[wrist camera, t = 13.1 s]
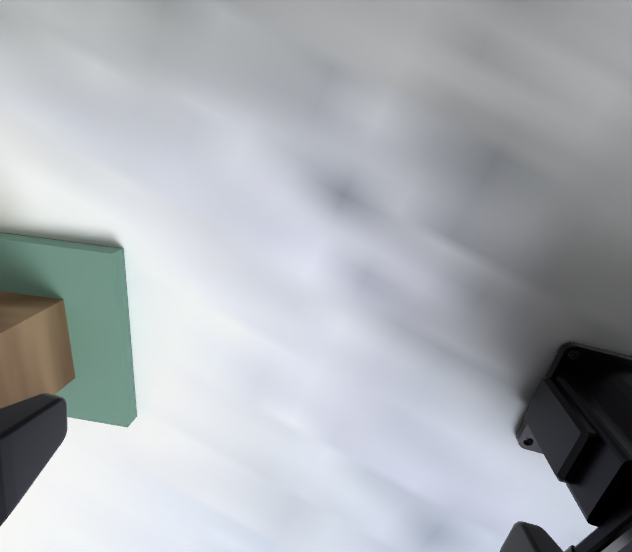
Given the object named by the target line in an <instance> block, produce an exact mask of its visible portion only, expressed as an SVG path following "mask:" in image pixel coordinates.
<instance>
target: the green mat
mask: <svg viewBox="0 0 632 552" xmlns="http://www.w3.org/2000/svg"><path fill="white" fill-rule="evenodd" d="M0 291H4V292H11V293H19V294H26V295H33V296H41V297H48V298H56V299H63V300H64V305H65V311H66V318H67V325H68V331H69V338H70V344H71V351H72V358H73V364H74V371H75V379H73V380H72V381H71V382H70V383H68V384H67V385H66V386H65V387H64V388H62V389H61V390H60V391H59V392H58V393H56V394H55V395H57V396H60V397H63V398H65V400H66V402H67V417H71V418H77V419H82V420H88V421H94V422H100V423H106V424H111V425H117V426H123V427H128V426H129V425H130V424H131V423H132V422H133V420H134V419H135V418H136V417H137V412H136V400H135V387H134V375H133V362H132V350H131V337H130V325H129V312H128V300H127V287H126V275H125V262H124V250H123V249H122V248H114V247H107V246H99V245H91V244H84V243H76V242H68V241H60V240H53V239H45V238H37V237H30V236H22V235H14V234H7V233H0Z"/></svg>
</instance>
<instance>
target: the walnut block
mask: <svg viewBox="0 0 632 552" xmlns="http://www.w3.org/2000/svg"><path fill="white" fill-rule="evenodd" d="M73 379H75V371H74V364H73V358H72V351H71V344H70V338H69V331H68V325H67V318H66V311H65V305H64V300H63V299H56V298H48V297H41V296H33V295H26V294H19V293H11V292H4V291H0V408H3V407H5V406H8V405H11V404H14V403H16V402H19V401H22V400H25V399H27V398H30V397H33V396H36V395H38V394H42V393H49V394H53V395H55V394H56V393H58V392H59V391H60V390H61V389H62V388H64V387H65V386H66V385H67V384H68V383H70V382H71V381H72V380H73Z"/></svg>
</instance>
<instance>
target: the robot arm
mask: <svg viewBox="0 0 632 552" xmlns="http://www.w3.org/2000/svg"><path fill="white" fill-rule="evenodd" d="M571 351H575V353H574V354H573V355H571V356H568V354H569V353H570V352H571ZM66 433H67V402H66V400H65V398H63V397H60V396H57V395H53V394H49V393H42V394H38V395H36V396H33V397H30V398H27V399H25V400H22V401H19V402H16V403H14V404H11V405H8V406H5V407H3V408H0V526H1V525H2V524H3V522H4V521H5V520H6V519H7V518H8V516H9V515H10V514H11V512H12V511H13V510H14V508H15V507H16V506H17V504H18V503H19V502H20V500H21V499H22V497H23V496H24V495H25V493H26V492H27V491H28V489H29V488H30V486H31V485H32V484H33V482H34V481H35V479H36V478H37V477H38V475H39V474H40V472H41V471H42V470H43V468H44V467H45V466H46V464H47V463H48V461H49V460H50V459H51V457H52V456H53V454H54V453H55V452H56V450H57V449H58V447H59V446H60V445H61V443H62V442H63V440H64V438H65V436H66ZM526 438H530V439H529V440H525V439H526ZM516 439H517V441H518V443H519V445H520V446H521V447H522V448H524V449H527V450H531V451H535V452H538V453H542V454H544V455H545V457H546V459H547V461H548V463H549V465H550V466H551V468H552V470H553V472H554V474H555V475H556V477H557V479H558V480H559V481H561V482H564V483H566V485H567V487H568V488H569V490H570V492H571V494H572V495H573V497H574V499H575V501H576V502H577V504H578V506H579V508H580V510H581V511H582V513H583V515H584V517H585V518H586V520H587V522H588V523H589V524H591V525H594V526H597V527H598V528H596V529H595V530H594V531H593V532H592V533H590V534H589V535H588V536H587V537H586V538H585V539H583V540H582V541H581V542H580V543H579V544H577V545H576V546H573V545H572V546H570V547H569V548H568V549H567V550H565V551H564V552H632V357H630V356H626V355H622V354H618V353H614V352H610V351H606V350H602V349H598V348H594V347H590V346H586V345H582V344H578V343H574V342H569V343H566V344H564V345H562V347H561V348H560V349H559V351H558V353H557V355H556V357H555V359H554V361H553V363H552V365H551V367H550V369H549V371H548V373H547V375H546V377H545V378H544V379H543V380H542V381H541V383H540V385H539V387H538V389H537V391H536V393H535V395H534V397H533V399H532V401H531V403H530V405H529V407H528V409H527V411H526V412H525V414H524V421H523V422H522V424H521V426H520V428H519V430H518V432H517V435H516ZM500 552H563V551H562V549H561V548H560V547H559V546H558V545H557V544H556V543H555V542H554V540H553V539H552V538H551V537H550V536H549V535H548V534H547V532H546V531H545V530H544V529H542V528H541V527H539V526H537V525H533V524H529V523H526V522H522V521H519V522H517V523H515V524H514V526H513V528H512V529H511V531H510V533H509V535H508V537H507V538H506V540H505V542H504V544H503V545H502V547H501V550H500Z"/></svg>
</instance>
